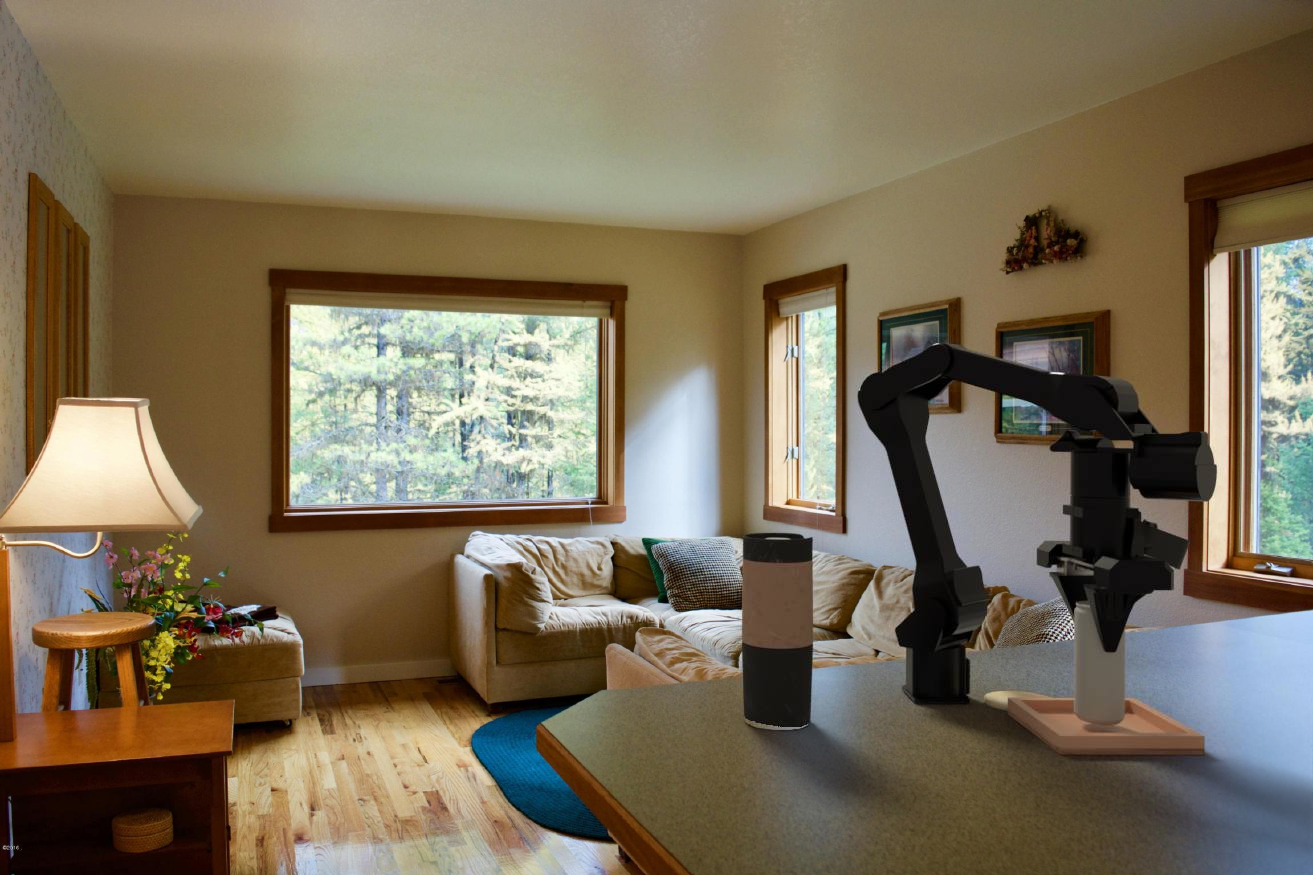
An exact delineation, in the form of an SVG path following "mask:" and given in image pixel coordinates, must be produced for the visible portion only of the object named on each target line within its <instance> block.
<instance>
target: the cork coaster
mask: <svg viewBox="0 0 1313 875" xmlns="http://www.w3.org/2000/svg"><path fill="white" fill-rule="evenodd" d="M983 698H984V699H983V700H984V703H985V704H986V705H987V706H989V707H991V708H993V709H996V710H1000V711H1005V712H1008V698H1052V697H1050V696H1048V695H1044V694H1041V693H1040V694H1039V693H1034V692H1028V691H1020V690H998V691H992V692H988V693H986V694H985V695H984V697H983Z"/></svg>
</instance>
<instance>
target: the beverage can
mask: <svg viewBox="0 0 1313 875" xmlns="http://www.w3.org/2000/svg"><path fill="white" fill-rule="evenodd" d="M1076 606H1077V607H1076V608H1075V610H1074V622H1073V623H1074V624H1073V626H1074V630H1073V631H1074V632H1073V633H1074V634H1073V636H1074V637H1073V641H1074V642H1073V643H1074V644H1073V698H1074V712H1075V714H1076V715H1077V717H1078V718H1079V719H1080V720H1082V721H1085V722H1088V723H1092V724H1098V725H1116V724H1119V723H1120V722H1121V721H1122V720H1123V719H1124V717H1125V698H1126V686H1125V685H1126V683H1125V682H1126V666H1125V665H1126V628H1125V629H1124V631H1123V634H1122V637H1121V640H1120V643H1119V645H1118V648H1117V651H1116V652H1114V653H1108V652H1105V651H1104V649H1103V646H1102V644H1101V641H1100V638H1099V635H1098V631H1097V628H1096V625H1095V621H1094V618H1093V615H1092V611H1091V608H1090V605H1089V602H1088V601H1079V602H1076Z"/></svg>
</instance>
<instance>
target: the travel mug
mask: <svg viewBox="0 0 1313 875" xmlns="http://www.w3.org/2000/svg"><path fill="white" fill-rule="evenodd" d="M813 542H814V538H813V536H811V537H810V536H809V537H807V538H805V537H804V535H802V534H800V533H795V532H794V533H792V532H755V533H748V534H747V533H746V534H744V535H743V537H742V581H741V582H742V586H741V588H742V590H741V591H742V592H741V593H742V595H741V599H742V600H741V603H742V604H741V658H742V659H741V660H742V662H741V664H742V665H741V666H742V695H743V696H742V698H743V699H742V700H743V701H742V702H743V717H744V716H745V718H746V719H748V720H750V721H755V722H756V723H761V724H766V725H773V726H778V727H779V726H780V727H802V726H804V725H807V724H809V723H811V718H812V717H811V716H812V715H811V714H812V692H813V691H812V690H813V689H812V688H813V687H812V685H813V662H814V661H813V660H814V659H813V658H814V652H813V651H814V587H813V586H814V582H813V581H814V575H813V574H814V568H813V567H814V566H813V565H814V564H813V562H814V561H813V558H814V557H813V556H814V555H813V551H814V550H813V546H814V545H813ZM809 725H810V724H809Z"/></svg>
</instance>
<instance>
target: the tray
mask: <svg viewBox="0 0 1313 875" xmlns="http://www.w3.org/2000/svg"><path fill="white" fill-rule="evenodd" d="M1007 715H1008V716H1010V717H1011V718H1012V719H1014V720H1015V721H1016V722H1018V723H1019V724H1020V725H1021V726H1023V727H1024V728H1025V729H1027V730H1028V732H1030V733H1032V734H1033V735H1034V736H1035V737H1037V738H1038V739H1039V740H1041V741H1042V742H1043V743H1044V744H1046V745H1047V746H1049V747H1050V748H1051V749H1052V750H1054V752H1056V753H1057V754H1059V755H1063V756H1064V755H1065V756H1067V755H1077V756H1079V755H1082V756H1085V755H1088V756H1089V755H1091V756H1092V755H1094V756H1096V755H1097V756H1099V755H1100V756H1101V755H1103V756H1105V755H1106V756H1107V755H1112V756H1114V755H1116V756H1117V755H1120V756H1121V755H1123V756H1128V755H1131V756H1133V755H1139V756H1141V755H1142V756H1144V755H1148V756H1149V755H1153V756H1154V755H1157V756H1160V755H1161V756H1164V755H1165V756H1166V755H1167V756H1168V755H1169V756H1172V755H1174V756H1175V755H1176V756H1180V755H1181V756H1186V755H1187V756H1188V755H1190V756H1191V755H1193V756H1194V755H1195V756H1196V755H1197V756H1204V755H1205V751H1206V750H1205V749H1206V747H1205V743H1206V742H1205V740H1206V737H1205V735H1204V734H1201V733H1200V732H1198V731H1196V730H1194V729H1192V728H1190V727H1188V726H1187V725H1185V724H1183V723H1181V722H1179V721H1177V720H1176V719H1173V718H1171V717H1169V716H1168V715H1166V714H1164V713H1162V712H1161V711H1159V710H1157V709H1155V708H1153V707H1151V706H1149V705H1148V704H1146V703H1144V702H1141V701H1140V700H1138V699H1137V698H1135V697H1125V717H1124V719H1123V720H1122V721H1121V722H1120V723H1119V724H1116V725H1098V724H1092V723H1088V722H1085V721H1082V720H1080V719H1079V718H1078V717H1077V715H1076V714H1075V712H1074V697H1051V698H1008V711H1007Z"/></svg>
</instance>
